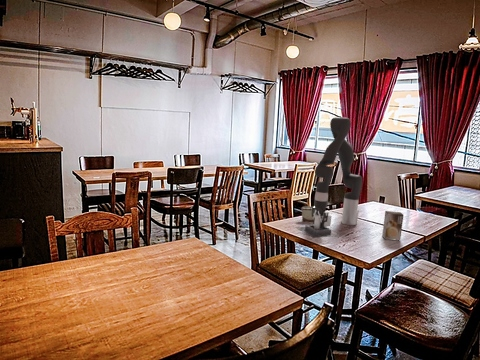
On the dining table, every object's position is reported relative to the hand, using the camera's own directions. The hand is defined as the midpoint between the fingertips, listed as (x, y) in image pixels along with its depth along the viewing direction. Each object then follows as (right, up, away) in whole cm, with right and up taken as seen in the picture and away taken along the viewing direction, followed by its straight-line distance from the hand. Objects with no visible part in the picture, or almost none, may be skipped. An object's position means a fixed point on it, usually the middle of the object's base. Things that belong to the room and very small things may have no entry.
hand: (318, 226), depth 222 cm
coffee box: (+43, -8, 0) cm, 44 cm away
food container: (-1, 0, +24) cm, 24 cm away
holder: (0, -4, +1) cm, 4 cm away
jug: (+2, -3, +2) cm, 4 cm away
